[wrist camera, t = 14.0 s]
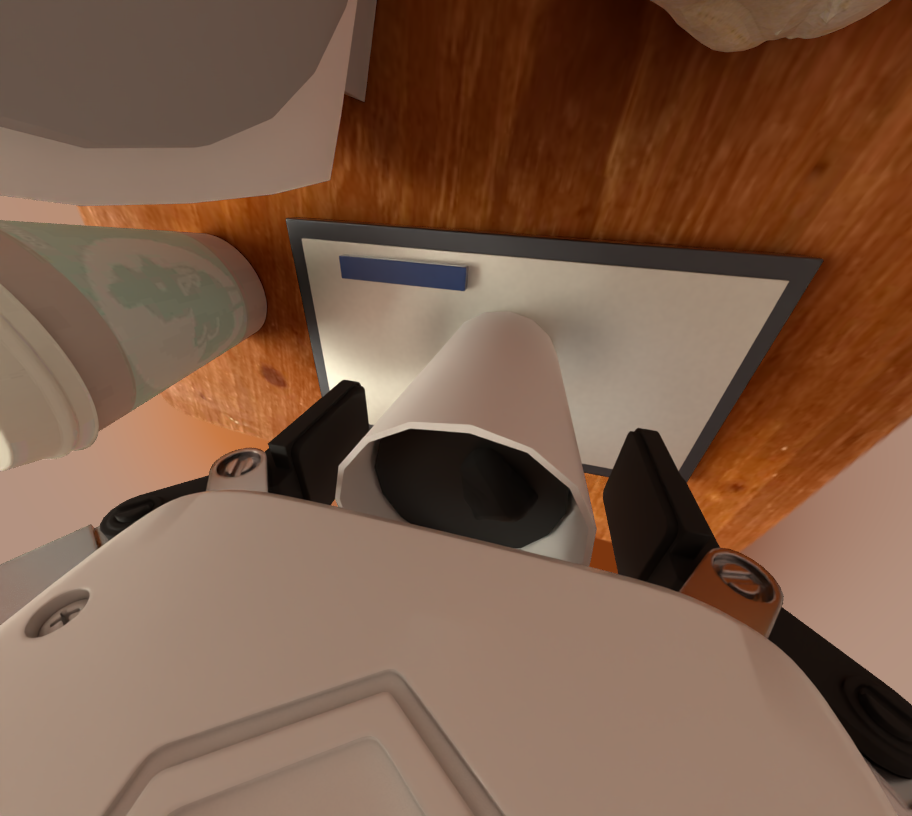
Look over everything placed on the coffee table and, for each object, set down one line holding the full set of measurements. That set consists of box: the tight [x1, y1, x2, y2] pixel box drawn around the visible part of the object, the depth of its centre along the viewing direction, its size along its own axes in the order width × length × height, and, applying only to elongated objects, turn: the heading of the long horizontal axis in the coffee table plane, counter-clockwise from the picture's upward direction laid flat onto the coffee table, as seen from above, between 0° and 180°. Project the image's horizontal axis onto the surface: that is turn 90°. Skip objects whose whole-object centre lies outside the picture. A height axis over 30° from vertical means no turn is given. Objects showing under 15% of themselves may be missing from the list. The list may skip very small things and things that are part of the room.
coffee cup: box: [0, 220, 267, 471], centre depth 14 cm, size 9×9×12 cm
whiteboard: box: [286, 217, 823, 483], centre depth 17 cm, size 22×12×2 cm, turn 87°
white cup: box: [335, 311, 596, 566], centre depth 12 cm, size 7×7×10 cm
